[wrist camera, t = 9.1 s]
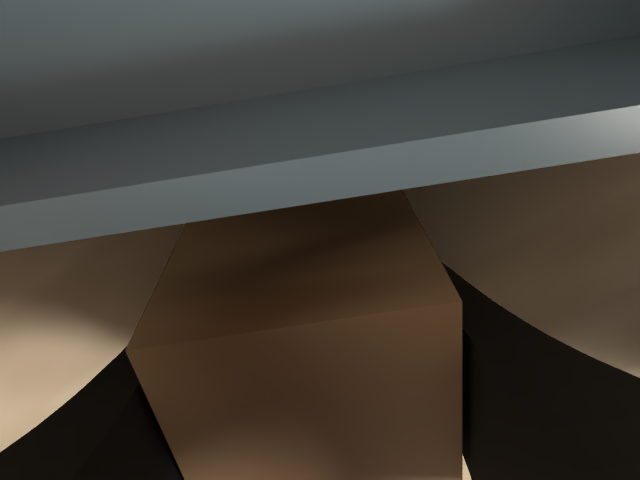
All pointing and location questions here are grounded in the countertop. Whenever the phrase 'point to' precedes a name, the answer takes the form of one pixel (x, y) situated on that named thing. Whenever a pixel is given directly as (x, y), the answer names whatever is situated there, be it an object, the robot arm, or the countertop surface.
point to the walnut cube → (306, 346)
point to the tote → (293, 103)
